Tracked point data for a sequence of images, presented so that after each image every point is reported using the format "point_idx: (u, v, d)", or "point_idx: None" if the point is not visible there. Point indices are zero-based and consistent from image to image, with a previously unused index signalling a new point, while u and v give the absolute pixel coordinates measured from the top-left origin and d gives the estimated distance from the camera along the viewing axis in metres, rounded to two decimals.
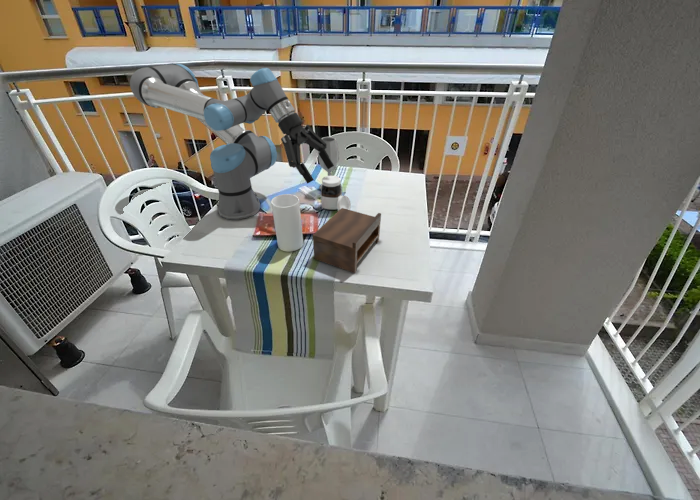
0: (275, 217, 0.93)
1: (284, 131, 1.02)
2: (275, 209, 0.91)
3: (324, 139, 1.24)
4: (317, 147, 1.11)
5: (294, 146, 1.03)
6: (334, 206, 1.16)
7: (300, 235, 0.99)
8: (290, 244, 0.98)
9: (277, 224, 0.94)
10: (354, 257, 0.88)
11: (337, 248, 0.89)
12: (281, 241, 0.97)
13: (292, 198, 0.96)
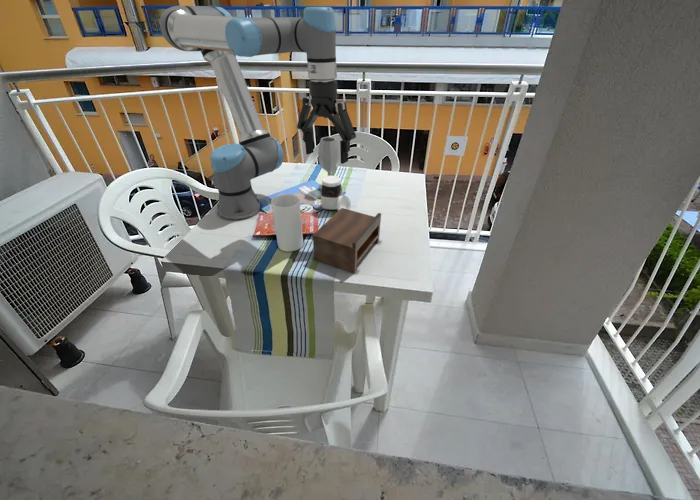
0: (275, 217, 0.93)
1: None
2: (275, 209, 0.91)
3: (324, 139, 1.24)
4: None
5: None
6: (334, 206, 1.16)
7: (300, 235, 0.99)
8: (290, 244, 0.98)
9: (277, 224, 0.94)
10: (354, 257, 0.88)
11: (337, 248, 0.89)
12: (281, 241, 0.97)
13: (292, 198, 0.96)
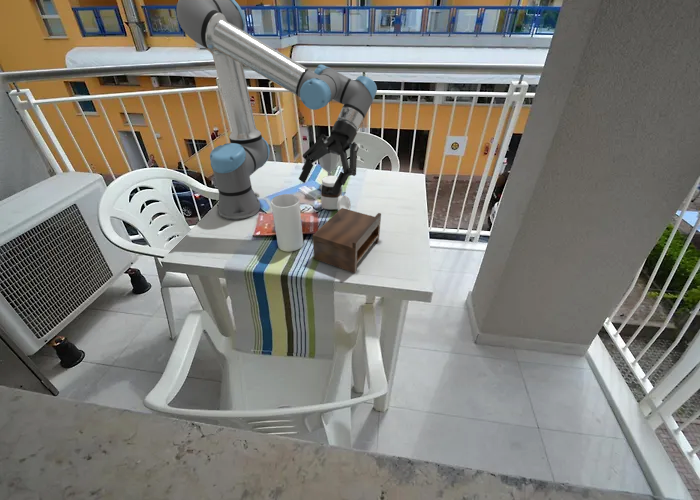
0: (275, 217, 0.93)
1: None
2: (275, 209, 0.91)
3: None
4: None
5: None
6: (334, 206, 1.16)
7: (300, 235, 0.99)
8: (290, 244, 0.98)
9: (277, 224, 0.94)
10: (354, 257, 0.88)
11: (337, 248, 0.89)
12: (281, 241, 0.97)
13: (292, 198, 0.96)
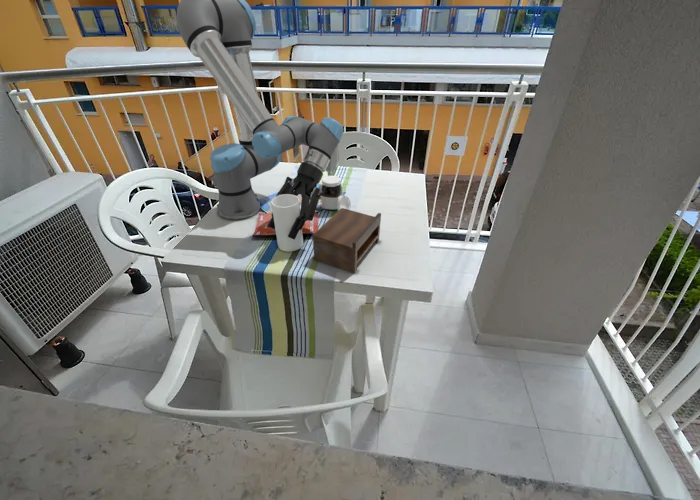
0: (275, 217, 0.93)
1: None
2: (275, 209, 0.91)
3: None
4: None
5: None
6: (334, 206, 1.16)
7: (300, 235, 0.99)
8: (290, 244, 0.98)
9: (277, 224, 0.94)
10: (354, 257, 0.88)
11: (337, 248, 0.89)
12: (281, 241, 0.97)
13: (292, 198, 0.96)
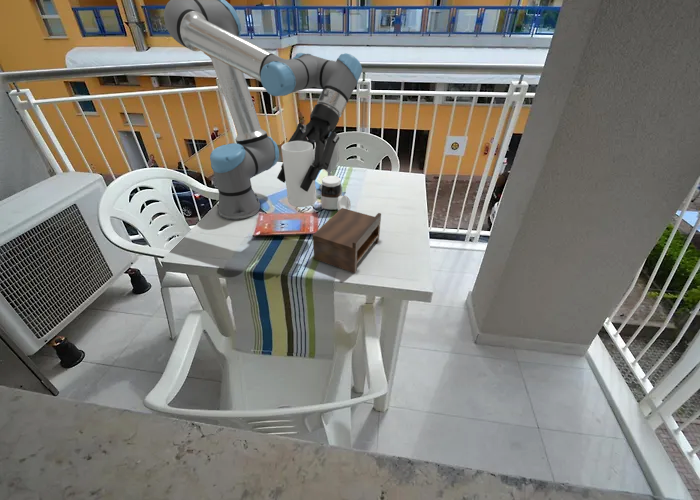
0: (286, 165, 0.82)
1: None
2: (286, 155, 0.80)
3: None
4: None
5: None
6: (334, 206, 1.16)
7: (313, 188, 0.88)
8: (302, 198, 0.87)
9: (288, 173, 0.83)
10: (354, 257, 0.88)
11: (337, 248, 0.89)
12: (292, 194, 0.87)
13: (305, 146, 0.86)
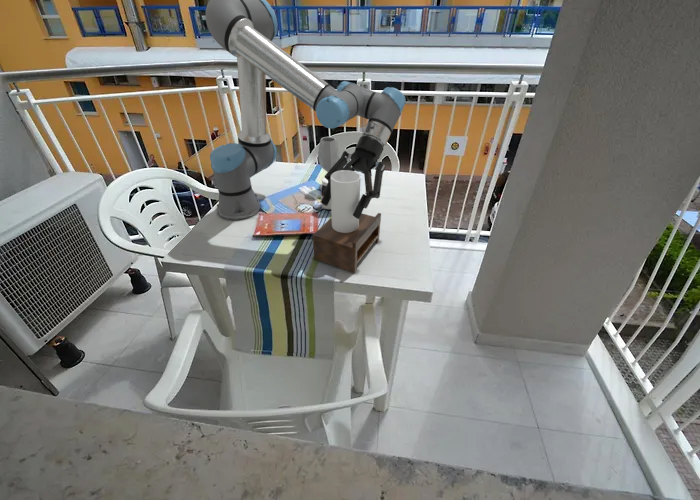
0: (334, 194, 0.86)
1: None
2: (336, 185, 0.84)
3: (324, 139, 1.24)
4: None
5: None
6: None
7: None
8: (347, 225, 0.90)
9: (336, 202, 0.87)
10: (354, 257, 0.88)
11: (337, 248, 0.89)
12: (337, 221, 0.90)
13: (351, 175, 0.89)
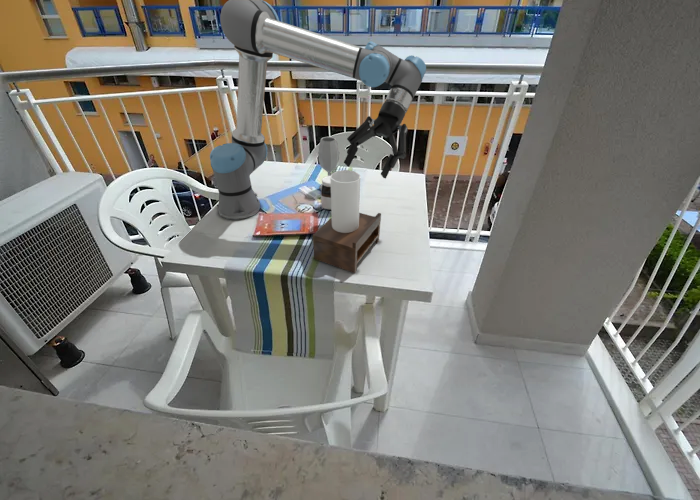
0: (334, 194, 0.86)
1: None
2: (336, 185, 0.84)
3: (324, 139, 1.24)
4: None
5: None
6: None
7: (358, 215, 0.91)
8: (347, 225, 0.90)
9: (336, 202, 0.87)
10: (354, 257, 0.88)
11: (337, 248, 0.89)
12: (337, 221, 0.90)
13: (351, 175, 0.89)
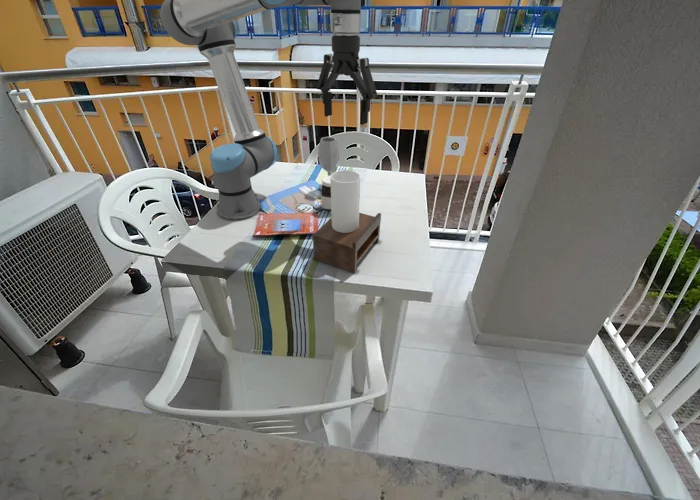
0: (334, 194, 0.86)
1: None
2: (336, 185, 0.84)
3: (324, 139, 1.24)
4: None
5: None
6: None
7: (358, 215, 0.91)
8: (347, 225, 0.90)
9: (336, 202, 0.87)
10: (354, 257, 0.88)
11: (337, 248, 0.89)
12: (337, 221, 0.90)
13: (351, 175, 0.89)
